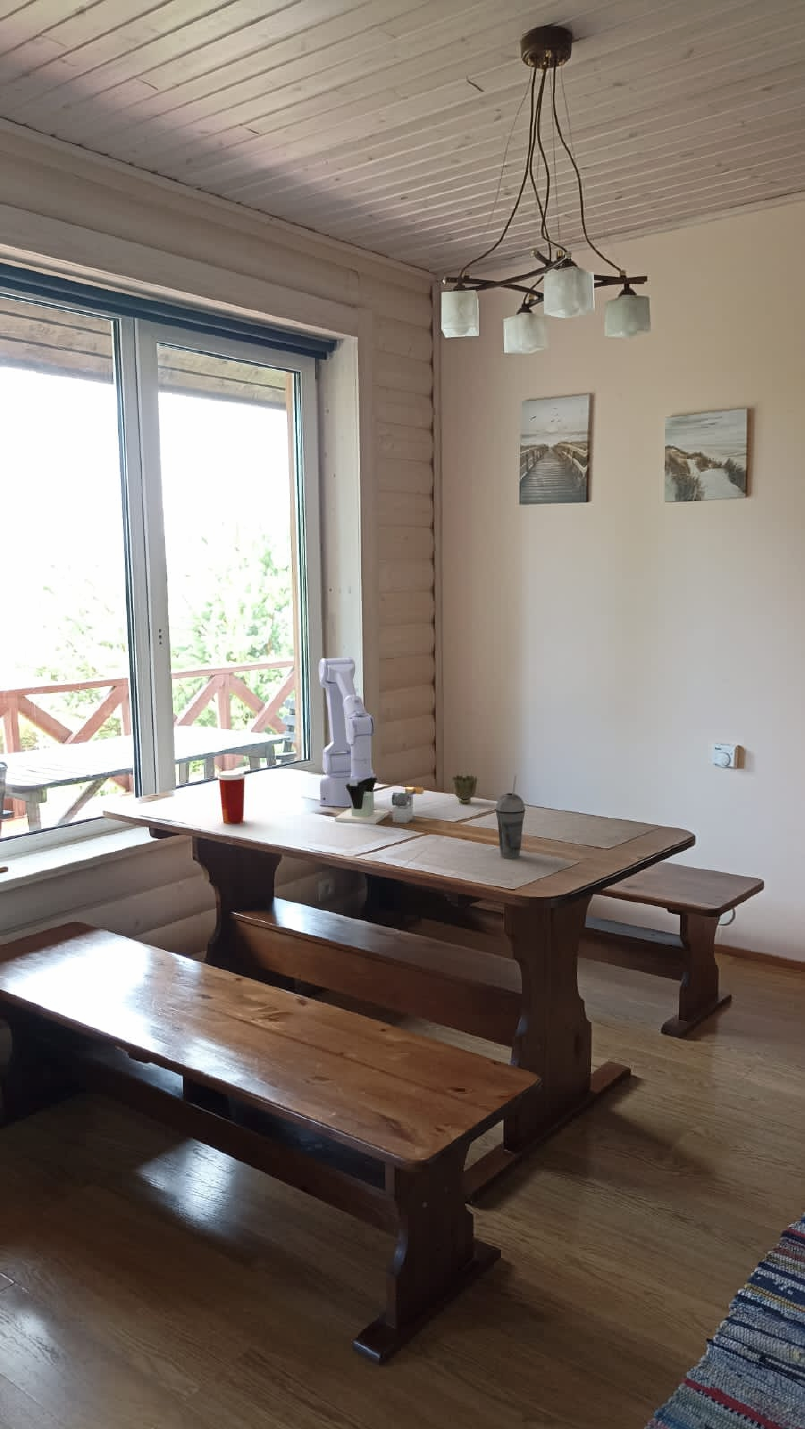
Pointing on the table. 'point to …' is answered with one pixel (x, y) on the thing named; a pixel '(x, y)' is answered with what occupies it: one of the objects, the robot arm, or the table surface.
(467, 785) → the cup
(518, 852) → the beverage cup
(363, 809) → the block
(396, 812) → the white square planter
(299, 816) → the table surface
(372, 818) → the plate
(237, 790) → the paper cup
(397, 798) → the press lever
